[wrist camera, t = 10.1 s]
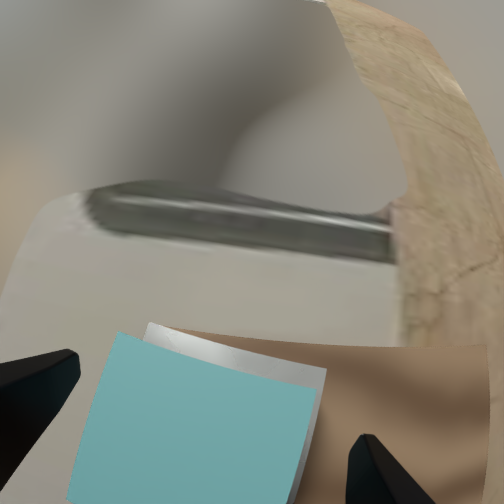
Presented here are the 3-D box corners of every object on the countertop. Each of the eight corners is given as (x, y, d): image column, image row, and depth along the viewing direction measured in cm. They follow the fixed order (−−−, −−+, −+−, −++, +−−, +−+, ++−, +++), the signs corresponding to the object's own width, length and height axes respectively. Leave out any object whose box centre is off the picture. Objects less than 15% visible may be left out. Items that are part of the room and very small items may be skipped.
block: (243, 474, 13) (262, 567, 3) (169, 453, 13) (66, 499, 4) (263, 407, 15) (316, 388, 5) (190, 386, 15) (118, 330, 6)
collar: (272, 514, 11) (282, 536, 8) (124, 471, 12) (98, 481, 9) (308, 378, 16) (327, 368, 13) (165, 340, 16) (149, 321, 13)
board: (453, 567, 8) (462, 570, 7) (127, 587, 8) (122, 594, 7) (476, 349, 18) (486, 344, 17) (155, 329, 18) (150, 323, 17)
